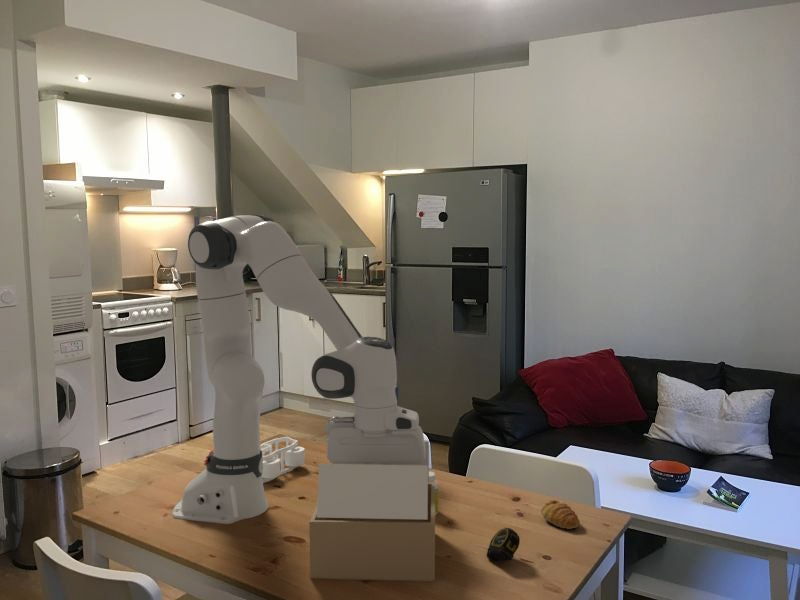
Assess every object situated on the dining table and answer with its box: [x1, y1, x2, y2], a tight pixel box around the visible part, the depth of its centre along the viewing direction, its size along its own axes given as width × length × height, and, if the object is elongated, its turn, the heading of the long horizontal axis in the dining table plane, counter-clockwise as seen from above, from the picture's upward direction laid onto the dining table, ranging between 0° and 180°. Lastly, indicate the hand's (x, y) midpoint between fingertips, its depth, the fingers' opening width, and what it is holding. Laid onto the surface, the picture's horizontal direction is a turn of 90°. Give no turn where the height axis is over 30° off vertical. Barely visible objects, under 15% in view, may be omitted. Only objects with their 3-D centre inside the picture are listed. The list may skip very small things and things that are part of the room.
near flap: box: [316, 463, 428, 520], centre depth 132 cm, size 21×10×1 cm
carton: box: [308, 482, 436, 583], centre depth 142 cm, size 24×22×12 cm
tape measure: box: [486, 527, 521, 562], centre depth 139 cm, size 7×7×4 cm
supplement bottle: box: [428, 470, 439, 516], centre depth 164 cm, size 5×5×10 cm
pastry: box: [540, 499, 581, 530], centre depth 158 cm, size 9×7×4 cm
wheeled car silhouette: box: [260, 436, 306, 484], centre depth 193 cm, size 20×11×7 cm, turn 151°
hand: (376, 482), depth 141 cm, fingers closed
